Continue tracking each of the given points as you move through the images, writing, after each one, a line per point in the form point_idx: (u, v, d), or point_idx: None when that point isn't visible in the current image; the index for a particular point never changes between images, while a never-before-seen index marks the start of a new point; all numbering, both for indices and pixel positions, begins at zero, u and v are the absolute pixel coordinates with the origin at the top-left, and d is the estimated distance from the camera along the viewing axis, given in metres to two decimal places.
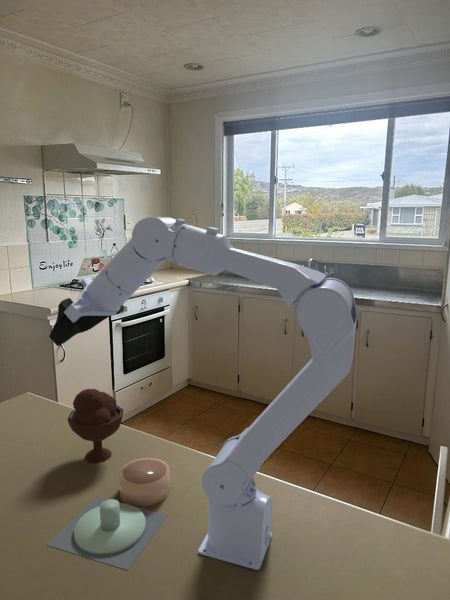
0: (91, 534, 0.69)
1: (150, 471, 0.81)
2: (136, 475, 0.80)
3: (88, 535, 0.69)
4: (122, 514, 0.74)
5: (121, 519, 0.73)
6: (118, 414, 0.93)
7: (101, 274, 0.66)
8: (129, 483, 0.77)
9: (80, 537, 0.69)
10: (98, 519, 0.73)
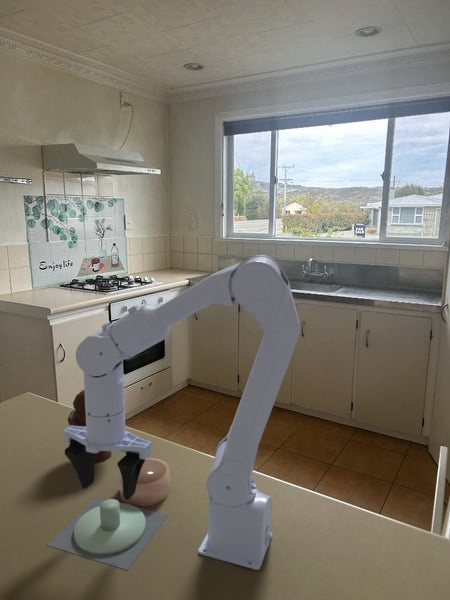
0: (91, 534, 0.69)
1: (150, 471, 0.81)
2: None
3: (88, 535, 0.69)
4: (122, 514, 0.74)
5: (121, 519, 0.73)
6: None
7: (107, 422, 0.65)
8: None
9: (80, 537, 0.69)
10: (98, 519, 0.73)
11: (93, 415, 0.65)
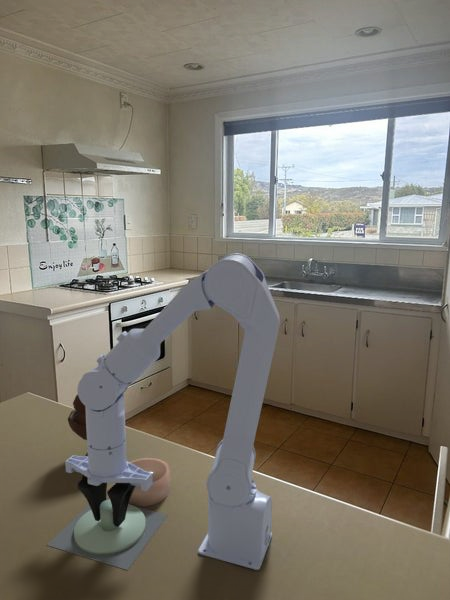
0: (91, 534, 0.69)
1: (150, 471, 0.81)
2: None
3: (88, 535, 0.69)
4: None
5: None
6: None
7: (109, 455, 0.66)
8: None
9: (80, 537, 0.69)
10: None
11: (95, 448, 0.66)
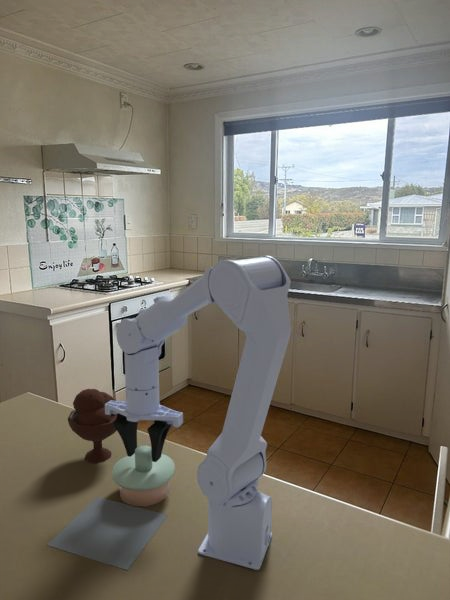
0: (127, 474, 0.79)
1: None
2: None
3: (125, 475, 0.78)
4: None
5: (153, 463, 0.82)
6: None
7: (145, 395, 0.76)
8: None
9: (118, 476, 0.78)
10: (132, 463, 0.82)
11: (133, 389, 0.75)
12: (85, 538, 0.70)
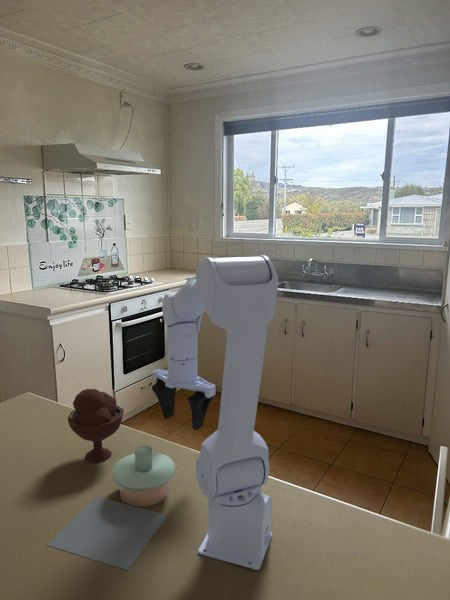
0: (127, 474, 0.79)
1: None
2: None
3: (125, 475, 0.78)
4: (153, 460, 0.83)
5: (153, 463, 0.82)
6: (118, 414, 0.93)
7: (182, 365, 0.83)
8: None
9: (118, 476, 0.78)
10: (132, 463, 0.82)
11: (172, 358, 0.84)
12: (85, 538, 0.70)
